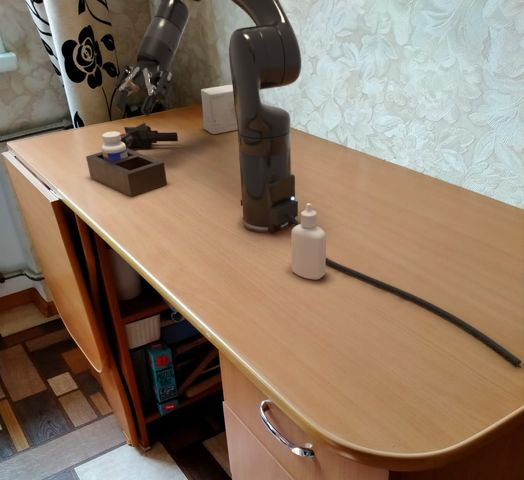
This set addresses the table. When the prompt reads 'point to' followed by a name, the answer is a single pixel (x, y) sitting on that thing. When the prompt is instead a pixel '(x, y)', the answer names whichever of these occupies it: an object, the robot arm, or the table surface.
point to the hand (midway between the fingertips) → (131, 111)
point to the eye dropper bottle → (308, 246)
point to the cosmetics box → (219, 109)
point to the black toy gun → (145, 136)
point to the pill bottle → (113, 147)
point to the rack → (128, 172)
